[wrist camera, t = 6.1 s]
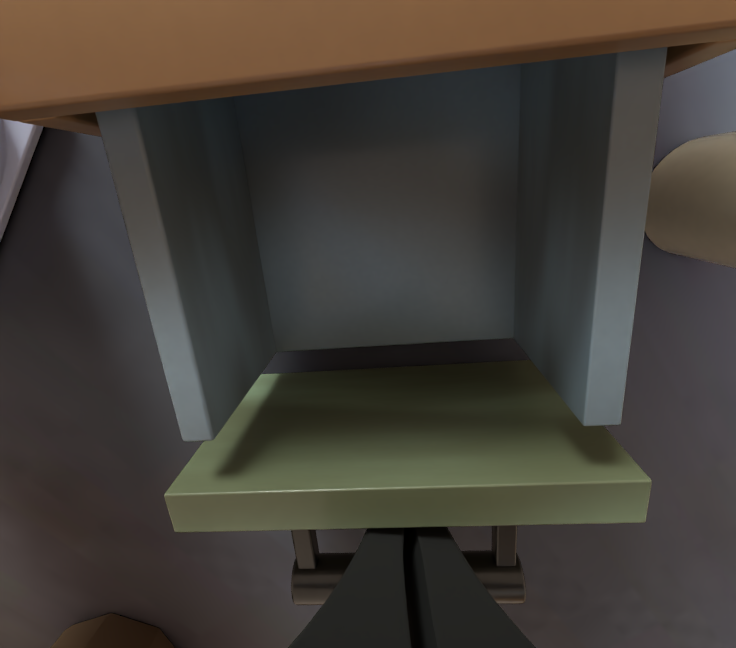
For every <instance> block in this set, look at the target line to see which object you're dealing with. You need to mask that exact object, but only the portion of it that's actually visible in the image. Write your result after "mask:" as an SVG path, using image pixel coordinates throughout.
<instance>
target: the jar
mask: <svg viewBox="0 0 736 648" xmlns="http://www.w3.org/2000/svg"><path fill="white" fill-rule="evenodd" d="M645 232H646V234H647V236H648V237H649V239H650V240H651V241H652V242H653V243H654V244H655V245H656V246H657V247H659V248H660V249H662V250H664V251H666V252H668V253H671V254H675V255H679V256H683V257H688V258H692V259H696V260H700V261H705V262H709V263H713V264H717V265H722V266H726V267H730V268H735V269H736V131H733V132H727V133H721V134H715V135H709V136H704V137H700V138H696V139H694V140H691V141H688V142H687V143H685V144H683V145H681V146H679V147H678V148H676V149H675V150H673V151H672V152H671V153H669V154H668V155H667V156H666V157H665V158H664V159H663V160H662V161H661V162H660V163H659V164H658V165H657V167H656V168H655V169H654V170H653V172H652V176H651V184H650V192H649V200H648V208H647V217H646V225H645Z"/></svg>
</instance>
